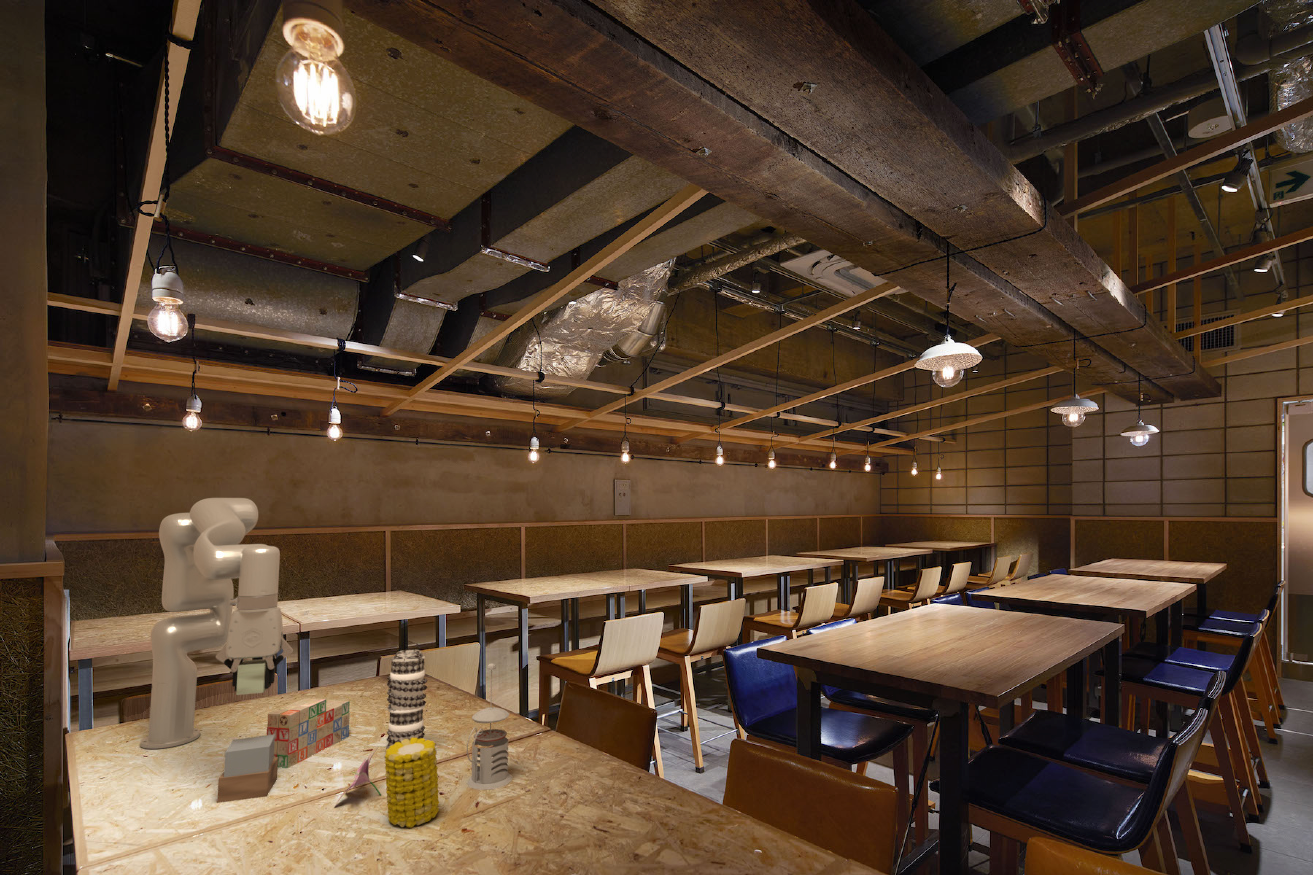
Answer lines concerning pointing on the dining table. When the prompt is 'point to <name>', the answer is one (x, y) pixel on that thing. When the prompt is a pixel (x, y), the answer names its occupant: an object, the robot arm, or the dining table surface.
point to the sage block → (251, 677)
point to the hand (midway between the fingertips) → (253, 687)
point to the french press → (489, 750)
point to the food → (411, 782)
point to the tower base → (247, 784)
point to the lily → (362, 775)
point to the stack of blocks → (307, 728)
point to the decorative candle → (406, 696)
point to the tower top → (249, 755)
